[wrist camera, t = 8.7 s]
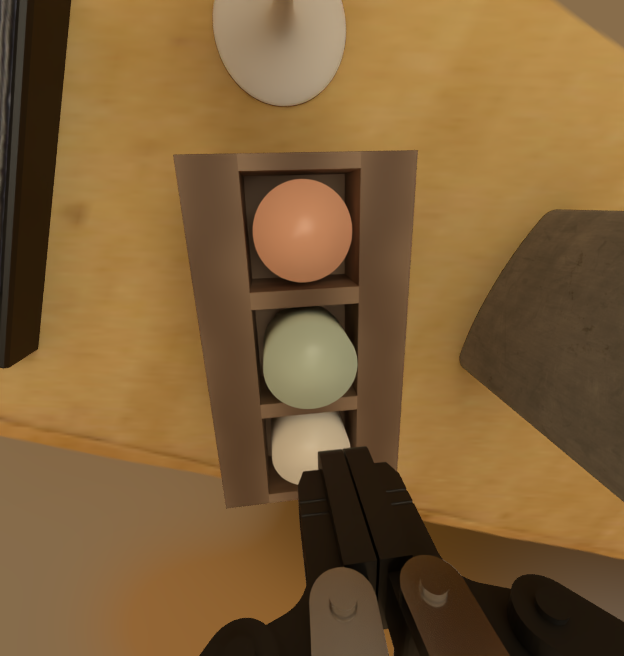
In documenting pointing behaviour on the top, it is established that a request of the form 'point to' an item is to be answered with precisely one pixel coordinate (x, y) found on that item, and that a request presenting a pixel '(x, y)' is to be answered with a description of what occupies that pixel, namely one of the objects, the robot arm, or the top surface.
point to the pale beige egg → (304, 441)
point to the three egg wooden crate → (297, 300)
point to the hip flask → (561, 338)
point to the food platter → (27, 161)
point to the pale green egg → (308, 357)
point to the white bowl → (280, 46)
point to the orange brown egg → (302, 230)
